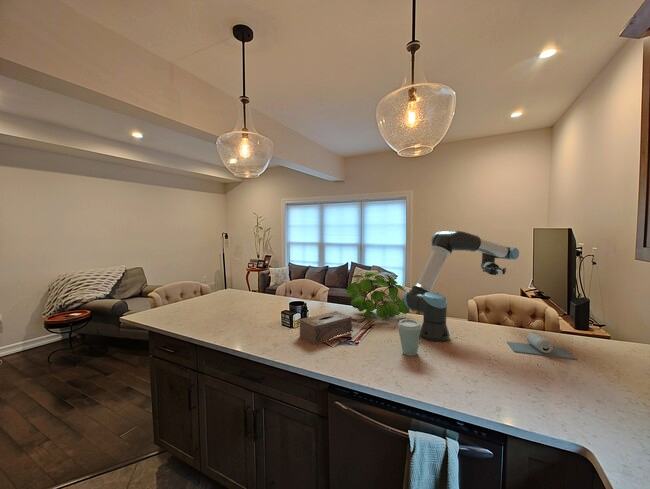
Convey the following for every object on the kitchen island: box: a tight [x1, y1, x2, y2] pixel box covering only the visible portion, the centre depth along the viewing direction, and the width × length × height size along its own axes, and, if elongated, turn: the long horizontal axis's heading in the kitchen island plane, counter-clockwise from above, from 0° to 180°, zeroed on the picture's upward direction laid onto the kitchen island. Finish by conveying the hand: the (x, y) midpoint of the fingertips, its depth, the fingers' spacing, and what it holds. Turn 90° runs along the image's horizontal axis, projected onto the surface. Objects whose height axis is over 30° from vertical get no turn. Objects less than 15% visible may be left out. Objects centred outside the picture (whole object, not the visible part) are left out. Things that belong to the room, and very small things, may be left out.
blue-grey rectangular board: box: [506, 341, 578, 360], centre depth 130 cm, size 24×12×1 cm, turn 69°
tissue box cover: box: [299, 310, 353, 346], centre depth 151 cm, size 26×14×10 cm, turn 127°
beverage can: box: [526, 332, 554, 353], centre depth 131 cm, size 6×6×12 cm
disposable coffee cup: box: [397, 318, 422, 357], centre depth 128 cm, size 11×11×15 cm
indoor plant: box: [345, 271, 410, 319], centre depth 189 cm, size 44×42×30 cm
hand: (500, 273), depth 152 cm, fingers closed
